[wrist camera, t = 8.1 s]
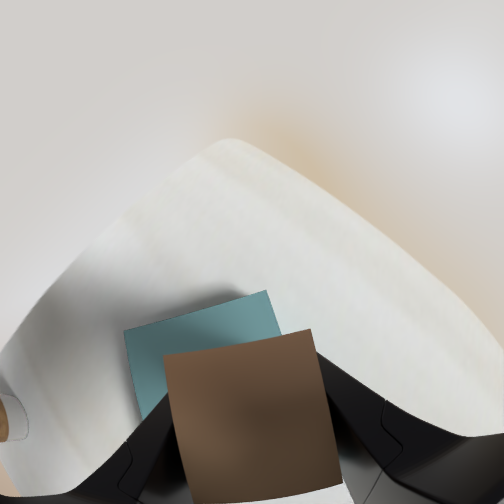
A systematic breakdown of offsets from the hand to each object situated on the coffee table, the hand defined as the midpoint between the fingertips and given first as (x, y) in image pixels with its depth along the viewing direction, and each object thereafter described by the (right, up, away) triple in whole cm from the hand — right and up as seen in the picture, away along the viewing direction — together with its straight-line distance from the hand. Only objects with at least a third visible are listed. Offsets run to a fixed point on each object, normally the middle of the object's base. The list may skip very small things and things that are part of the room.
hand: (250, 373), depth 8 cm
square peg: (+1, -4, +6) cm, 7 cm away
